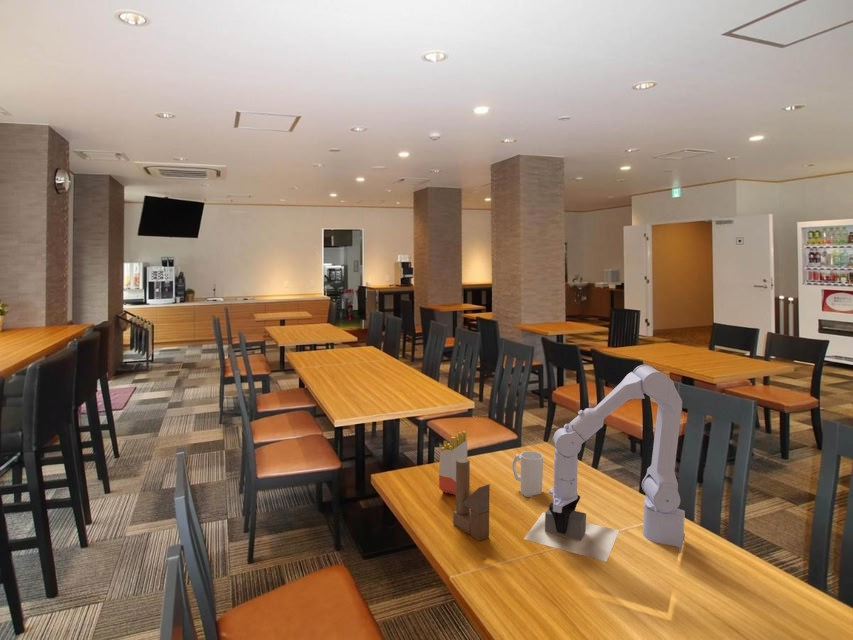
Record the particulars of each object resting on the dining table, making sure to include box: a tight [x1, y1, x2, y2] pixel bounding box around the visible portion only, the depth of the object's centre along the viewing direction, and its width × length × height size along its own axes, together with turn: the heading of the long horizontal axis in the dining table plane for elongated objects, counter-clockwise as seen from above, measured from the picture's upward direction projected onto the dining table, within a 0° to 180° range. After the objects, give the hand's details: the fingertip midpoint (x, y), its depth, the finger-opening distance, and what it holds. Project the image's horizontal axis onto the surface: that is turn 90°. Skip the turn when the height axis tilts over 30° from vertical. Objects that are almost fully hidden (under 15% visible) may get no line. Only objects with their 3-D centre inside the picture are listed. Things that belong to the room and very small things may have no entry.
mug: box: [512, 450, 544, 498], centre depth 158 cm, size 10×7×12 cm, turn 47°
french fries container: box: [438, 430, 468, 496], centre depth 159 cm, size 5×11×18 cm, turn 150°
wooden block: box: [452, 458, 491, 542], centre depth 135 cm, size 4×11×18 cm, turn 35°
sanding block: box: [545, 508, 587, 541], centre depth 132 cm, size 9×5×5 cm, turn 60°
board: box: [523, 511, 620, 563], centre depth 132 cm, size 20×16×1 cm
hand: (564, 527), depth 133 cm, fingers closed on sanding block, 5 cm apart
